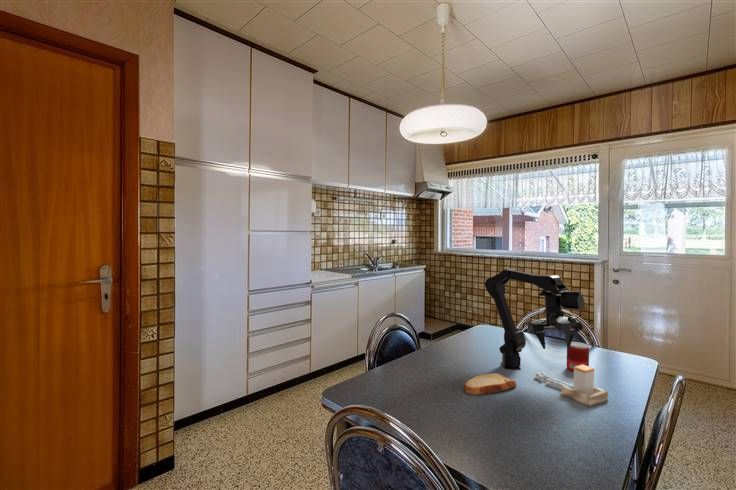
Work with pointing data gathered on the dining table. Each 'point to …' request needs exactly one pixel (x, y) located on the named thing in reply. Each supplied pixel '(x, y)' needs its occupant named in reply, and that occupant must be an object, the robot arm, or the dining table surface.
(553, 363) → the dining table surface
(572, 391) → the holder
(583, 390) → the orange-topped block
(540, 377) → the clip
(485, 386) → the bread slice
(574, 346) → the canned food
